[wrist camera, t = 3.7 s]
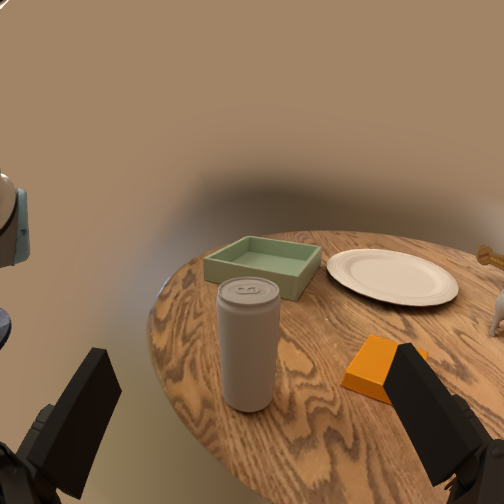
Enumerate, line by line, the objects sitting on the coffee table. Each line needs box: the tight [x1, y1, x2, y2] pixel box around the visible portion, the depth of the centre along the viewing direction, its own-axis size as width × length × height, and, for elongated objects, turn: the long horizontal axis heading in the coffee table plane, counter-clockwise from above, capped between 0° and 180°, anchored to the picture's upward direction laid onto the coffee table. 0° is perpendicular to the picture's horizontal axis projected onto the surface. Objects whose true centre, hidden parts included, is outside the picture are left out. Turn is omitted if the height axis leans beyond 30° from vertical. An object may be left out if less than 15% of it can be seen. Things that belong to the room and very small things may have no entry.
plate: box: [327, 249, 459, 307], centre depth 50 cm, size 29×29×2 cm
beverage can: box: [216, 277, 281, 412], centre depth 22 cm, size 5×5×12 cm
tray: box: [203, 236, 322, 301], centre depth 53 cm, size 18×18×4 cm
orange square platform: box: [341, 334, 428, 405], centre depth 25 cm, size 8×8×4 cm
